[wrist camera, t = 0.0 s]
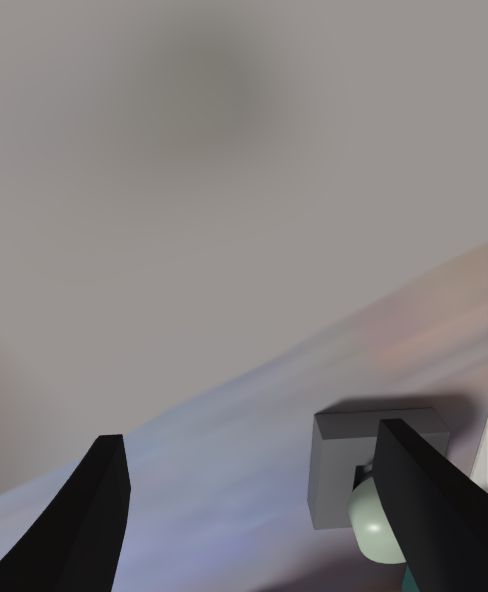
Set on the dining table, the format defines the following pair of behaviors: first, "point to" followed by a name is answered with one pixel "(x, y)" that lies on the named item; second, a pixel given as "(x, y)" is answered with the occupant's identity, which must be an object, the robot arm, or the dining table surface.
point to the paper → (481, 462)
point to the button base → (355, 456)
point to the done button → (372, 524)
